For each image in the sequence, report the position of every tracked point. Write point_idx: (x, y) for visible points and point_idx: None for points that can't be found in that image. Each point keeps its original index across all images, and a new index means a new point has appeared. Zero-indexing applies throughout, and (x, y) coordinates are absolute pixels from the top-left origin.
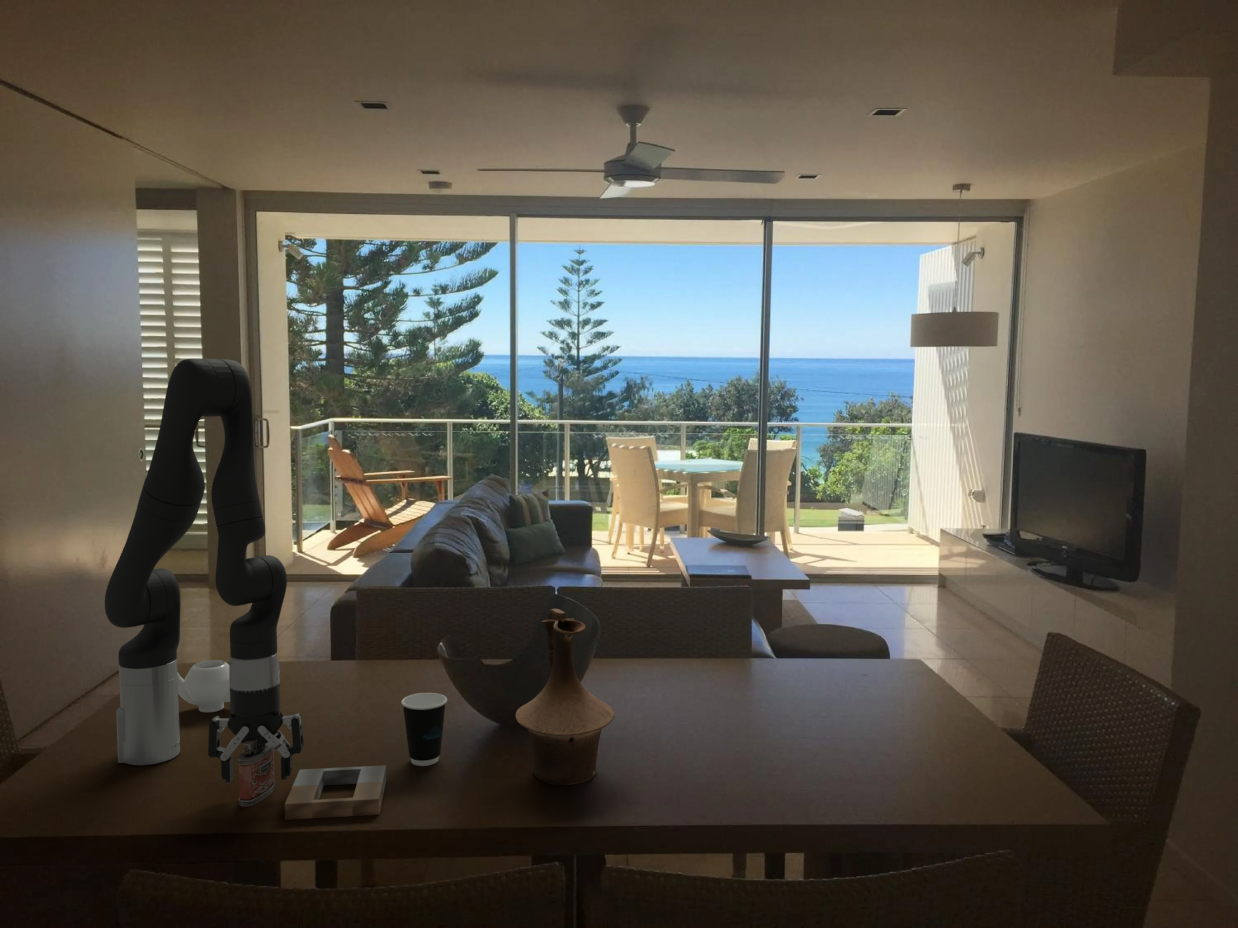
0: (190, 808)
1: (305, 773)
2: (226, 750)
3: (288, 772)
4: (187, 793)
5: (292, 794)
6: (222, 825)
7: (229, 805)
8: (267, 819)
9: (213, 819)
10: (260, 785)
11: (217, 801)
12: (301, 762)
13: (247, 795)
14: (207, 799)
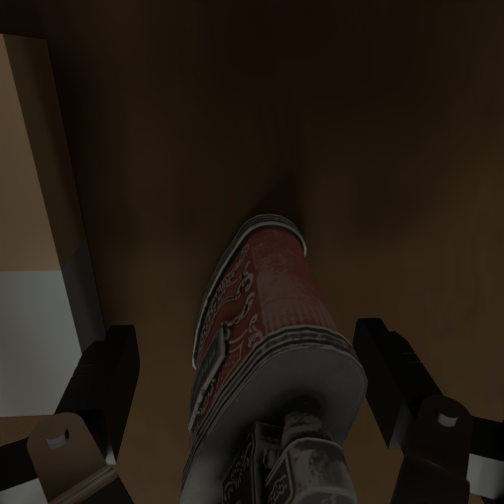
0: (476, 218)
1: (54, 380)
2: (455, 453)
3: (92, 352)
4: (481, 329)
5: (15, 170)
6: (342, 21)
7: (335, 227)
8: (140, 60)
9: (387, 100)
10: (223, 295)
11: (382, 264)
12: (160, 485)
13: (269, 236)
14: (417, 283)
